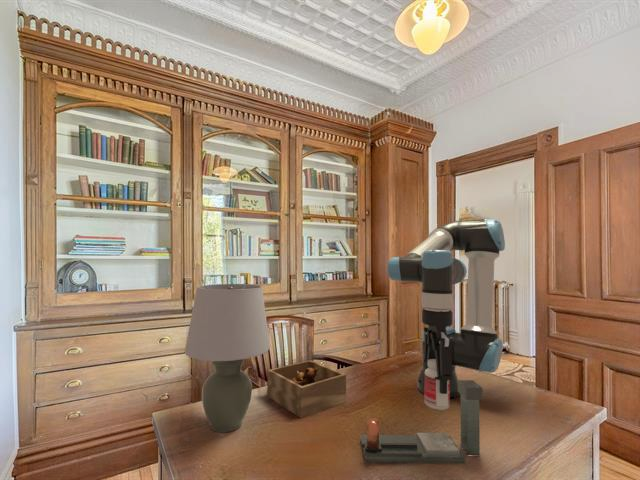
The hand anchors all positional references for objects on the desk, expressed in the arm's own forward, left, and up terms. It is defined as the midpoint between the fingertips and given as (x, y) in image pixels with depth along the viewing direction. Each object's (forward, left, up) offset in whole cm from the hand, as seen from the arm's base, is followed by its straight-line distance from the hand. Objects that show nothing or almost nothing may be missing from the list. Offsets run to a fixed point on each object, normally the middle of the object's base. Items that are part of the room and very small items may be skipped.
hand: (436, 399), depth 86 cm
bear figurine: (-46, -9, -14) cm, 48 cm away
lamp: (-45, -37, -13) cm, 60 cm away
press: (-3, -4, -13) cm, 14 cm away
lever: (-8, -15, -11) cm, 20 cm away
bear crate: (-45, -8, -13) cm, 48 cm away
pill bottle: (0, 0, -2) cm, 2 cm away
